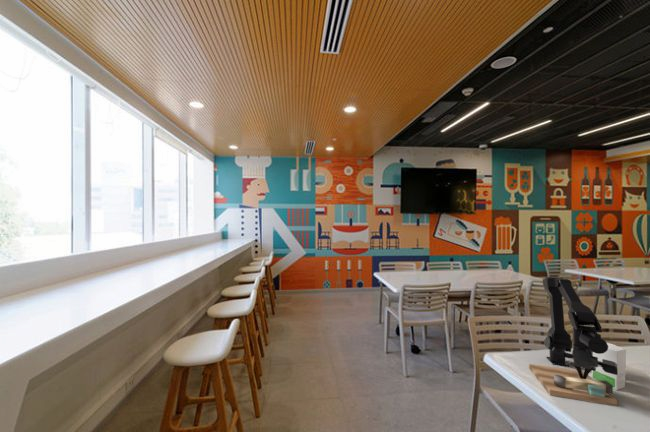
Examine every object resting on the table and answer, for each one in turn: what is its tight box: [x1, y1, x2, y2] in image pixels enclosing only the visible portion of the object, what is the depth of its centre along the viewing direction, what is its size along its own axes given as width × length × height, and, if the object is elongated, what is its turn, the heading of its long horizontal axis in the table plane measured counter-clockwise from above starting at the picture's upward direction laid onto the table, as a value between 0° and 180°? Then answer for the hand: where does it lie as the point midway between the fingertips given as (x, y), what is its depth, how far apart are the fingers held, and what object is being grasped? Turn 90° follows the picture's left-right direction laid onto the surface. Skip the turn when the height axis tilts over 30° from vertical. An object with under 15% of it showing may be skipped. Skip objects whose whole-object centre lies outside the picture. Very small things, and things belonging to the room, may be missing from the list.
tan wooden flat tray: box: [528, 363, 618, 407], centre depth 111 cm, size 20×20×5 cm
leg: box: [554, 375, 614, 394], centre depth 106 cm, size 18×4×3 cm, turn 76°
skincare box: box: [590, 342, 627, 391], centre depth 112 cm, size 8×7×16 cm
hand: (583, 381), depth 109 cm, fingers closed
